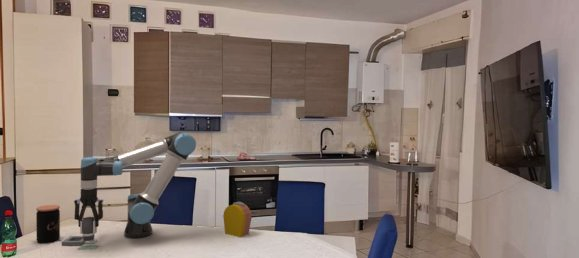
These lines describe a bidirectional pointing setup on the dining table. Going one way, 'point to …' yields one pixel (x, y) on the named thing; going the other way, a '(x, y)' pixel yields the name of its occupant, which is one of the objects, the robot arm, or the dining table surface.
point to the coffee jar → (48, 223)
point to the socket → (77, 241)
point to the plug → (88, 229)
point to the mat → (88, 246)
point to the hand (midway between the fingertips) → (88, 233)
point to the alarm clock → (237, 219)
